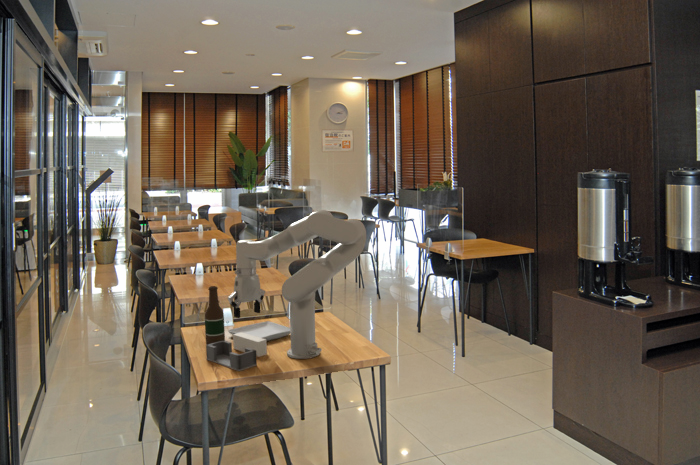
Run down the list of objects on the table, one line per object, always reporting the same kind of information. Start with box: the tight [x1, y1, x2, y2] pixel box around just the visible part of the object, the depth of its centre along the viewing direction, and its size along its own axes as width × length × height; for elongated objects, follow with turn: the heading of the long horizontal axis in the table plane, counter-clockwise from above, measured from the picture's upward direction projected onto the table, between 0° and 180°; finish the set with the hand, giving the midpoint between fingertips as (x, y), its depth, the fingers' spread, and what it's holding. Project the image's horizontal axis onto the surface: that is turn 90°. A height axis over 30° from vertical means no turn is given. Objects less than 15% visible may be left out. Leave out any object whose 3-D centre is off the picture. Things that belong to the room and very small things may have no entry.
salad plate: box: [227, 320, 290, 342], centre depth 239 cm, size 21×21×3 cm
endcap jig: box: [205, 339, 258, 372], centre depth 205 cm, size 20×8×6 cm, turn 48°
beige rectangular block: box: [232, 332, 268, 358], centre depth 218 cm, size 16×4×6 cm, turn 48°
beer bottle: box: [204, 285, 226, 346], centre depth 228 cm, size 8×8×24 cm
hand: (247, 314), depth 217 cm, fingers open, 9 cm apart
